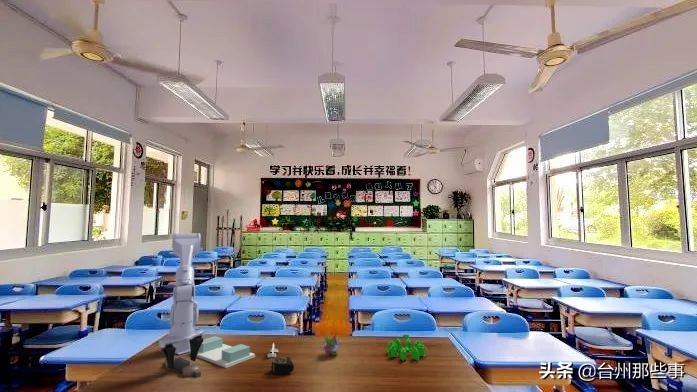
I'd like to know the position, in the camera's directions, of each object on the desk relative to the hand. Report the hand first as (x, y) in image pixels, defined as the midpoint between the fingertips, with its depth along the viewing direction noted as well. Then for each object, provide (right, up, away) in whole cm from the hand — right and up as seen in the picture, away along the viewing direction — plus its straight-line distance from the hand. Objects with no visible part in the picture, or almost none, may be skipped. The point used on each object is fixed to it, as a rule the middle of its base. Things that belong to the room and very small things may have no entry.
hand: (182, 364), depth 117 cm
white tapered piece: (+27, -3, +8) cm, 29 cm away
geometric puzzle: (+48, -3, +12) cm, 50 cm away
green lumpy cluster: (+75, -3, +12) cm, 76 cm away
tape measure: (+34, -2, -2) cm, 34 cm away
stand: (+9, -3, +12) cm, 15 cm away
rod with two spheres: (0, -2, 0) cm, 2 cm away
